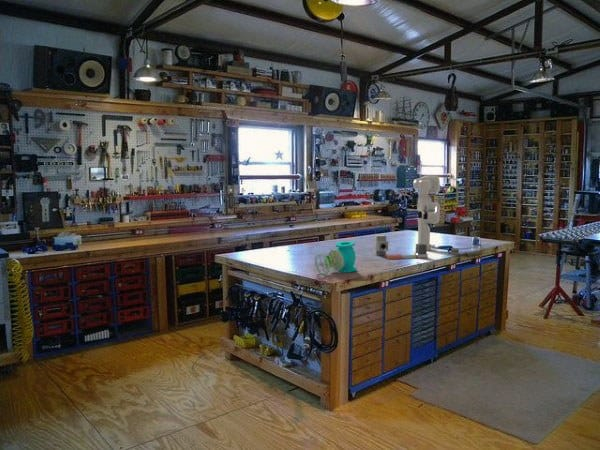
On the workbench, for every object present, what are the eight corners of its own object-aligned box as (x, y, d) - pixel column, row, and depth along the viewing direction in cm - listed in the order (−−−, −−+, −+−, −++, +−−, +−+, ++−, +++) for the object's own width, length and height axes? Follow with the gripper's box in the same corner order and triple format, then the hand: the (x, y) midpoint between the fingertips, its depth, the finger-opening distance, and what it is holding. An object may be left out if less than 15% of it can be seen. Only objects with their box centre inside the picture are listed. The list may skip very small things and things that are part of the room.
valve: (359, 242, 325) (324, 253, 307) (361, 269, 329) (327, 280, 311) (344, 240, 336) (310, 250, 319) (346, 265, 340) (312, 276, 322)
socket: (422, 252, 382) (423, 243, 381) (426, 254, 376) (426, 245, 376) (415, 253, 381) (415, 243, 380) (418, 254, 375) (419, 245, 374)
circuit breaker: (379, 256, 382) (379, 237, 380) (373, 253, 396) (373, 234, 394) (388, 256, 383) (389, 237, 382) (382, 253, 397) (382, 234, 396)
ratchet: (424, 256, 385) (424, 247, 384) (429, 258, 375) (430, 249, 374) (383, 257, 378) (383, 248, 378) (388, 259, 369) (388, 250, 368)
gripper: (414, 195, 394) (413, 217, 396) (423, 197, 377) (422, 219, 379) (423, 195, 396) (422, 217, 398) (432, 197, 379) (432, 219, 381)
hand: (422, 218), depth 389 cm, fingers open, 9 cm apart
